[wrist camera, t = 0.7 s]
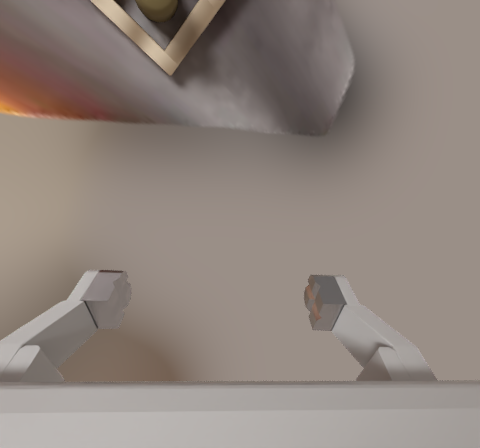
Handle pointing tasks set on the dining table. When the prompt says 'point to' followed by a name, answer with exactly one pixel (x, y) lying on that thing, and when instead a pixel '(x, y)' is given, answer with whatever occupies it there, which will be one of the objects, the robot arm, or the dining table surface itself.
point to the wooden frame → (181, 41)
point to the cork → (158, 9)
